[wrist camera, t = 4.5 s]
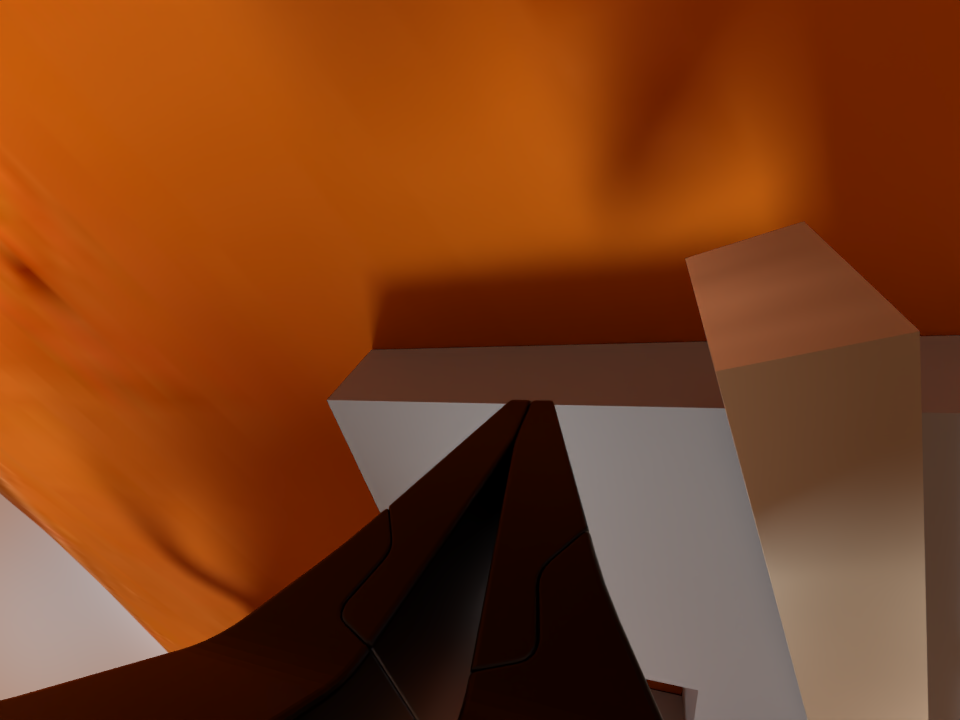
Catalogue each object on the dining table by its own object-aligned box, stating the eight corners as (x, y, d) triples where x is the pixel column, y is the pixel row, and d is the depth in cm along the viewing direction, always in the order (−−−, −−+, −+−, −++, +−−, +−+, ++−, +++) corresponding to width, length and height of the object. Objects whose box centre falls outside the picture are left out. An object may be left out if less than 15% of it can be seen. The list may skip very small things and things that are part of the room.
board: (1276, 327, 7) (1510, 424, 5) (902, 766, 18) (935, 852, 16) (371, 349, 13) (326, 399, 11) (492, 670, 24) (480, 724, 22)
